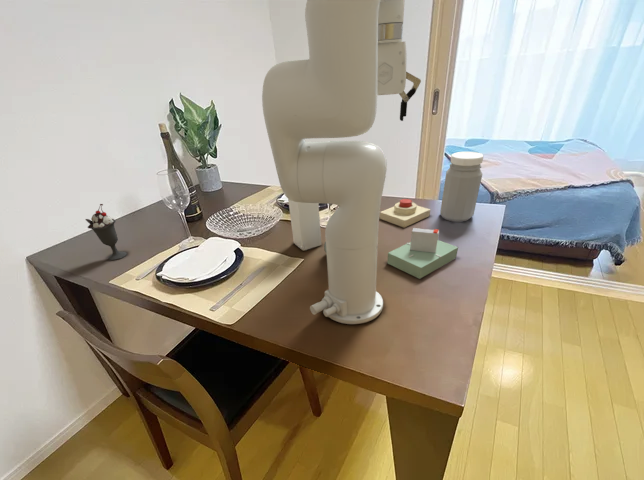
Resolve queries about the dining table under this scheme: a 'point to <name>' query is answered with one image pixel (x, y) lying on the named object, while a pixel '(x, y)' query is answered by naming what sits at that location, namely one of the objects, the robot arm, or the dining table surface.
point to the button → (405, 203)
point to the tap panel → (421, 259)
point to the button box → (404, 214)
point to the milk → (305, 224)
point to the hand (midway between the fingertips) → (382, 121)
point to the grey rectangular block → (424, 240)
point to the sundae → (105, 232)
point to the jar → (461, 186)
